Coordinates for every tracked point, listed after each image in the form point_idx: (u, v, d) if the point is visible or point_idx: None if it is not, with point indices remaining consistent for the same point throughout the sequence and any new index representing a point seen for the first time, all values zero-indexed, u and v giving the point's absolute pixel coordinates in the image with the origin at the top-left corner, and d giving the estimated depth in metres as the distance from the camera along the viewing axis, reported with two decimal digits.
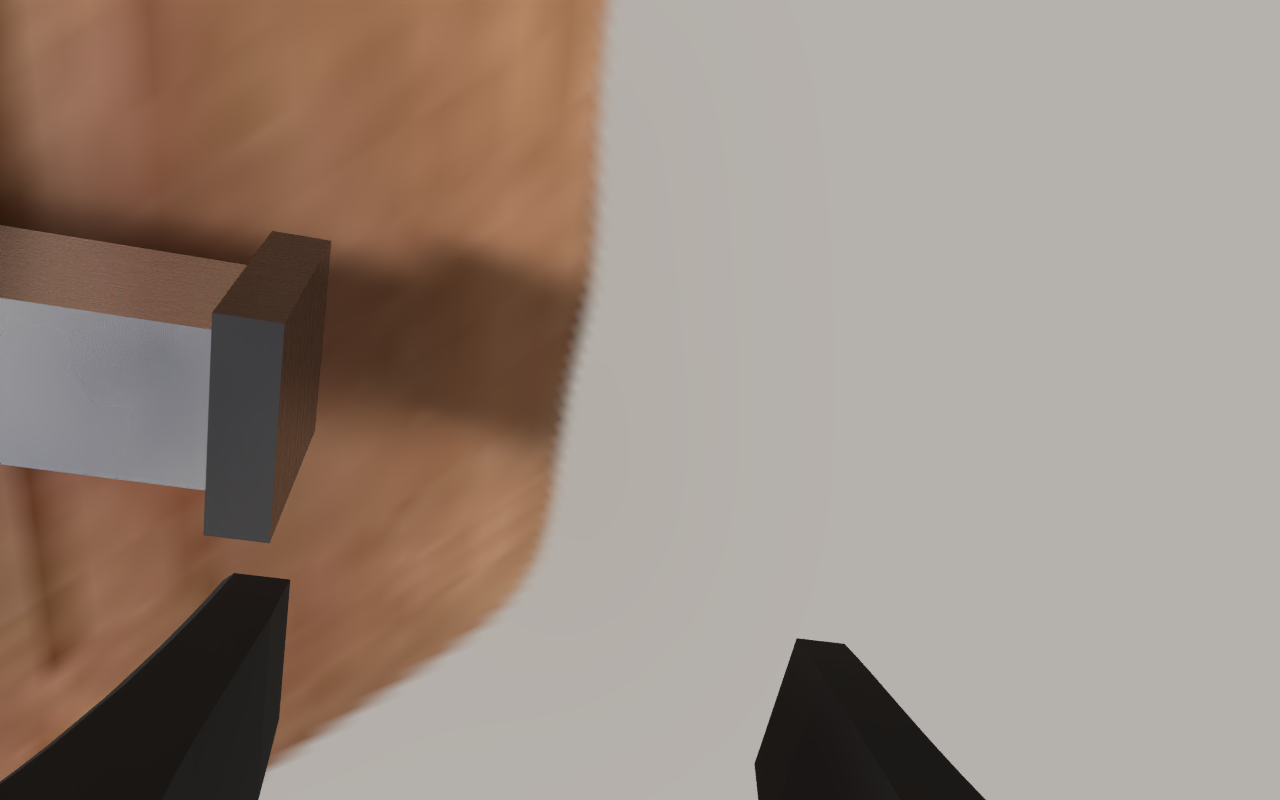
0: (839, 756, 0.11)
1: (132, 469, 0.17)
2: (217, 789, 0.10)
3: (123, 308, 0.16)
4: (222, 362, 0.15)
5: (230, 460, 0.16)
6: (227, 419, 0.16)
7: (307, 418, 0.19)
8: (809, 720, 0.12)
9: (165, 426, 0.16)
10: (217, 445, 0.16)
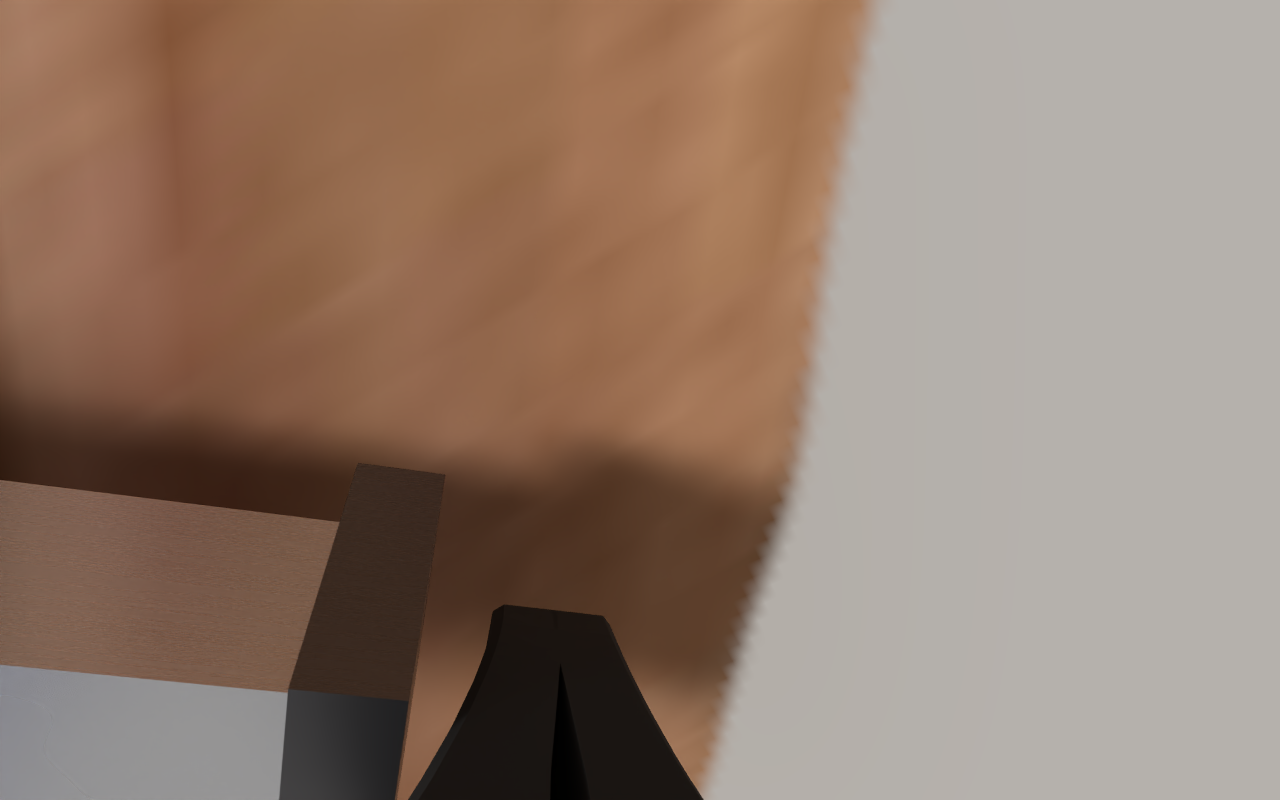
0: (559, 729, 0.11)
1: None
2: None
3: (137, 658, 0.10)
4: (302, 758, 0.09)
5: None
6: None
7: None
8: None
9: None
10: None
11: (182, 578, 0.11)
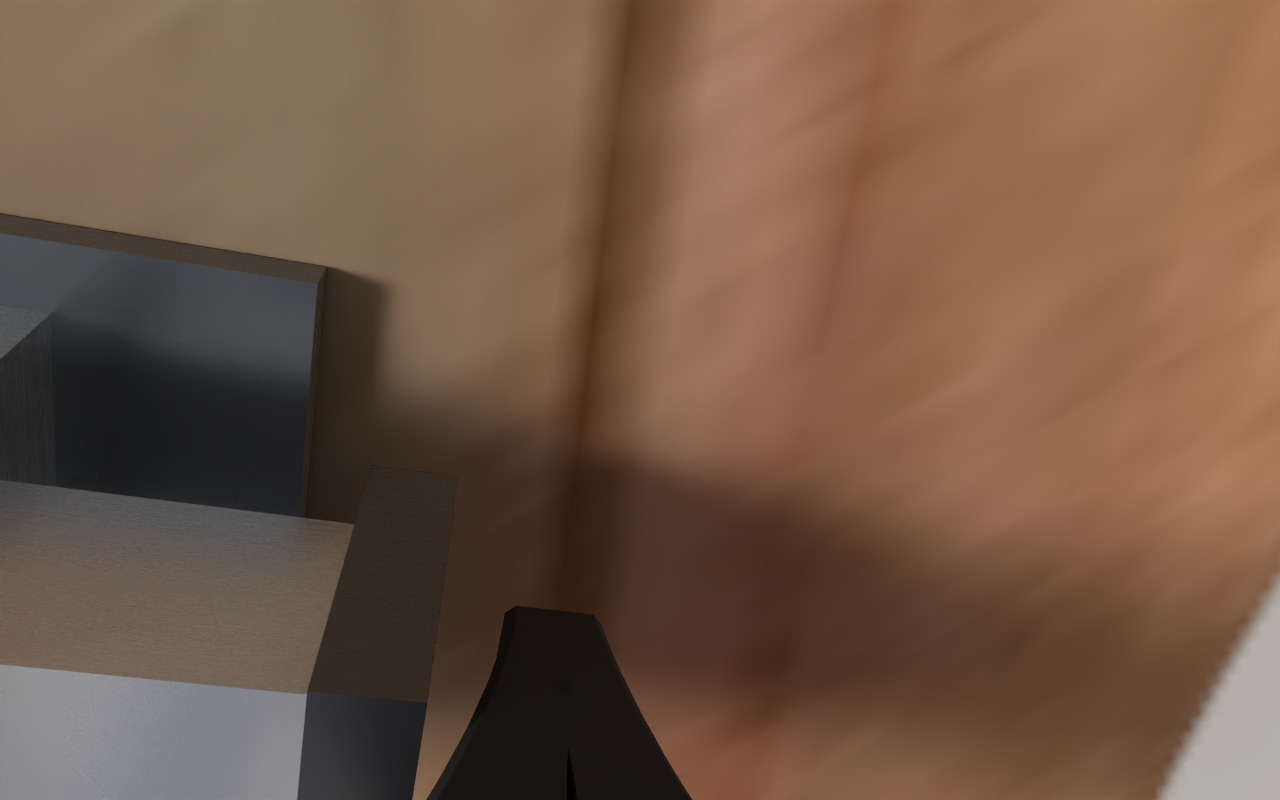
0: None
1: None
2: None
3: (155, 659, 0.10)
4: (321, 759, 0.09)
5: None
6: None
7: None
8: None
9: None
10: None
11: (198, 580, 0.11)
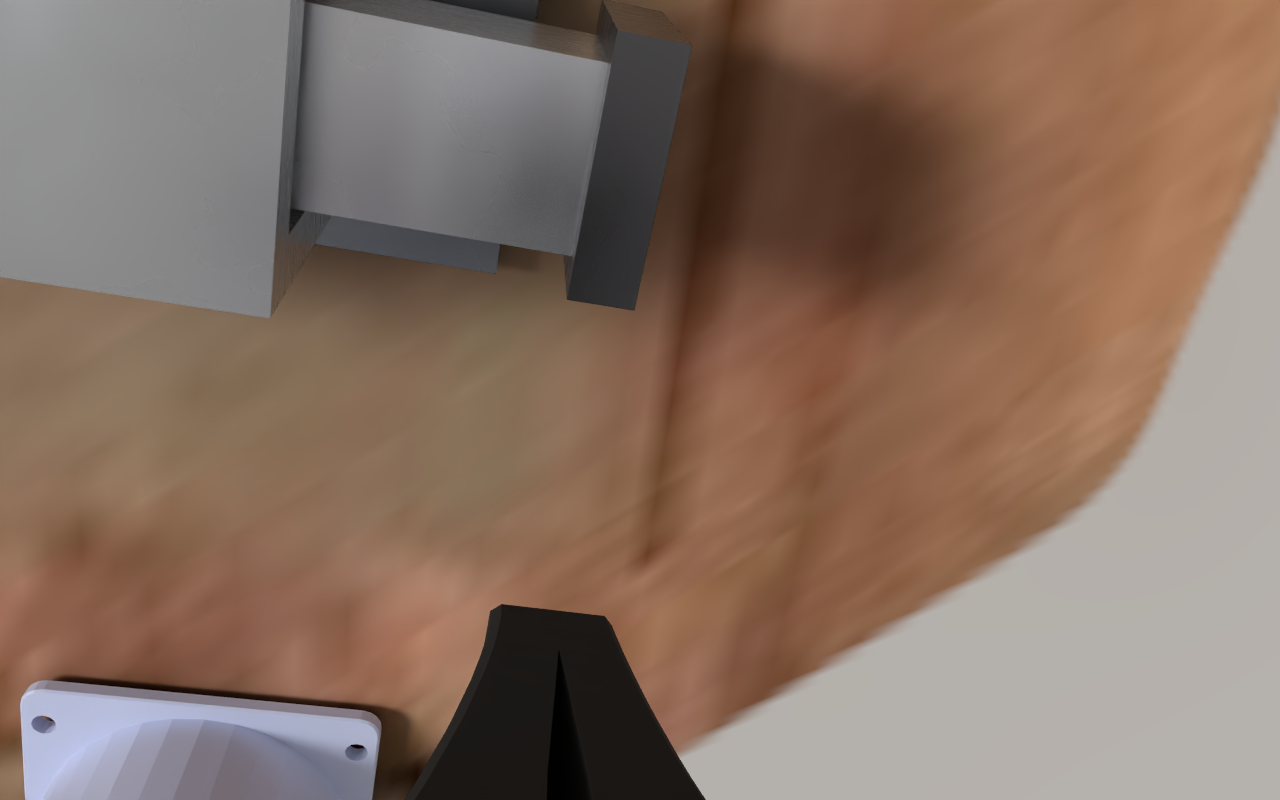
0: (561, 729, 0.11)
1: (491, 228, 0.15)
2: None
3: (503, 39, 0.15)
4: (619, 91, 0.14)
5: (609, 210, 0.15)
6: (615, 161, 0.15)
7: None
8: None
9: (533, 176, 0.15)
10: (598, 192, 0.15)
11: (508, 28, 0.16)
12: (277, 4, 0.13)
